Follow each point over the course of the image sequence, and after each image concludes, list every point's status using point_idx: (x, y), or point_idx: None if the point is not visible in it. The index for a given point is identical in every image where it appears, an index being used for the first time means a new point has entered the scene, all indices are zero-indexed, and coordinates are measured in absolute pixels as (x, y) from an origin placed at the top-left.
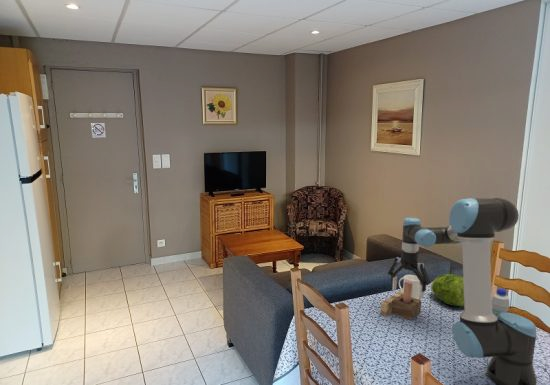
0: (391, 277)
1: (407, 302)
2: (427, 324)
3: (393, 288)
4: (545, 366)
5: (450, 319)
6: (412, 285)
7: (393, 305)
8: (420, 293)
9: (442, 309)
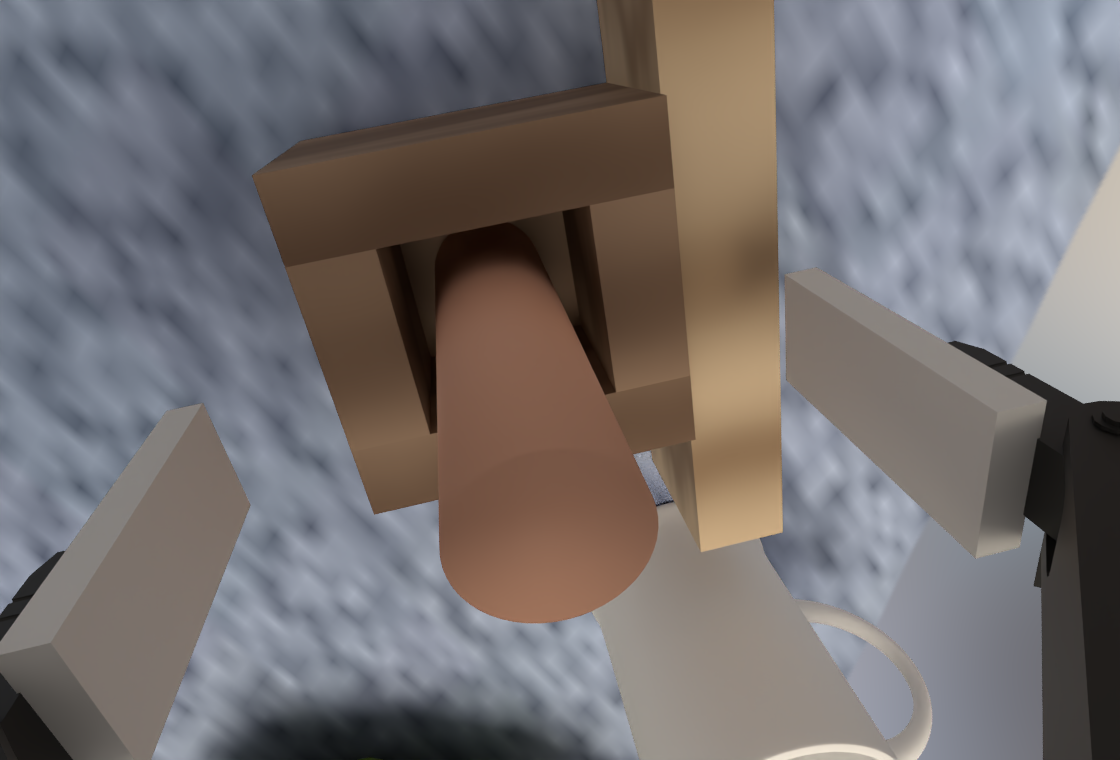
0: (1078, 403)
1: (455, 285)
2: (91, 229)
3: (814, 286)
4: None
5: None
6: (695, 702)
7: (610, 97)
8: (142, 472)
9: (326, 658)
